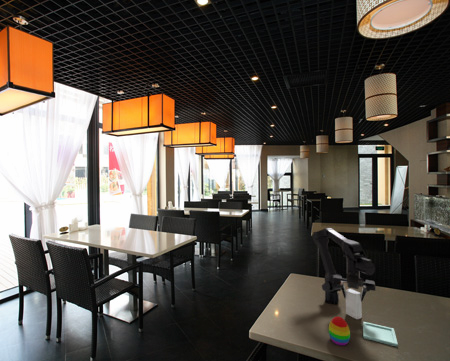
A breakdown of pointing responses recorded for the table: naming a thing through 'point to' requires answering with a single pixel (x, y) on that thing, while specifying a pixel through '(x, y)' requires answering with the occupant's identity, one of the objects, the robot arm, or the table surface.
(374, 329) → the tray
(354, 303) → the skincare box
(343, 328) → the decorative egg
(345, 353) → the table surface
